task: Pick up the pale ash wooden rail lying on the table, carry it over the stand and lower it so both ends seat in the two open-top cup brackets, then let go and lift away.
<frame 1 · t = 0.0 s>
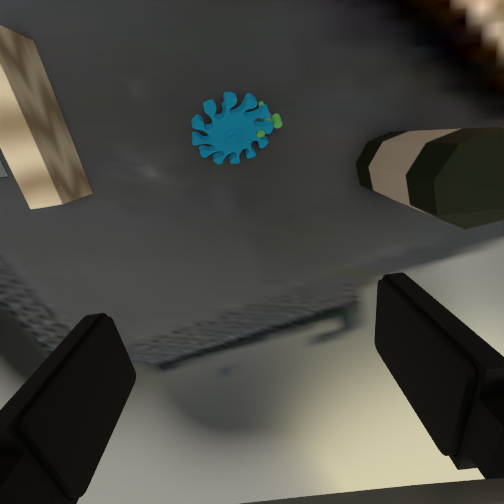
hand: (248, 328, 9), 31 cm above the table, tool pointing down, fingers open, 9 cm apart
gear: (237, 132, 35), on the table
rail: (52, 127, 35), on the table
wine bottle: (384, 164, 38), on the table
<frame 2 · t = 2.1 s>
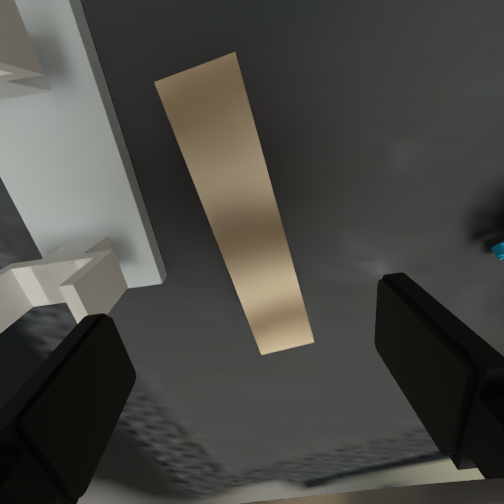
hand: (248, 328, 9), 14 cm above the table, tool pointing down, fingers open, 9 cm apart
rail: (250, 209, 22), on the table
cradle: (75, 171, 20), on the table
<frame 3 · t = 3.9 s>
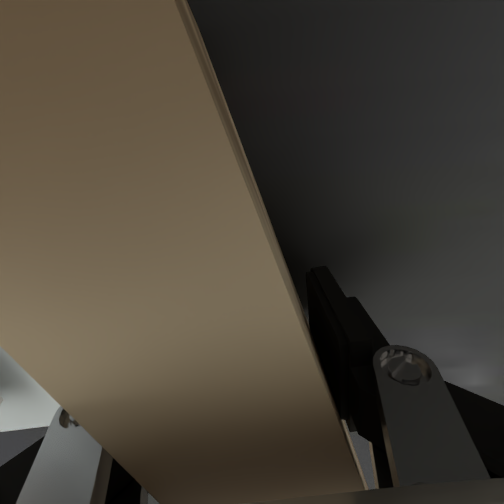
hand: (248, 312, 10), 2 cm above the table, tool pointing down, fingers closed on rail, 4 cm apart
rail: (247, 289, 12), on the table, touching gripper
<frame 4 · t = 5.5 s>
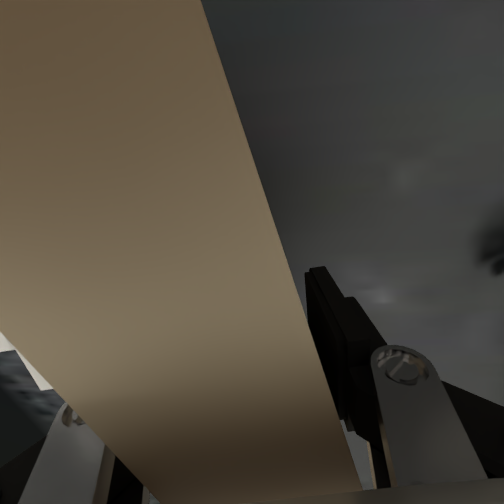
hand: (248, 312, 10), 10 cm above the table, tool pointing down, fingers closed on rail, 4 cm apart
rail: (246, 289, 12), point 9 cm above the table, touching gripper
cradle: (46, 196, 18), on the table
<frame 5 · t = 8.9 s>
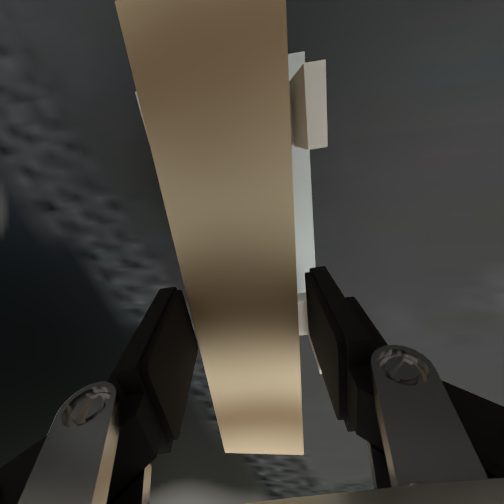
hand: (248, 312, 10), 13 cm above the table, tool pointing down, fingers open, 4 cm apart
rail: (255, 238, 16), point 6 cm above the table, tilted 5°, touching cradle
cradle: (253, 212, 22), on the table
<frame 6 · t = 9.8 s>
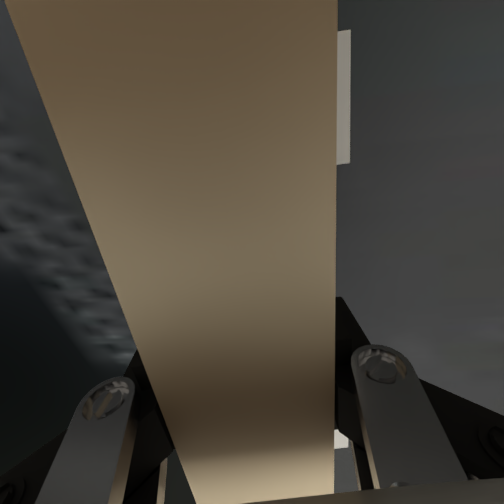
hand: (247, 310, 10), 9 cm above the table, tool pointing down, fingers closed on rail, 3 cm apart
rail: (247, 273, 13), point 6 cm above the table, touching cradle, gripper
cradle: (246, 234, 18), on the table
when the fingers open (9 cm above the table, at t = 10.0 s): rail stays where it is, resting on cradle.
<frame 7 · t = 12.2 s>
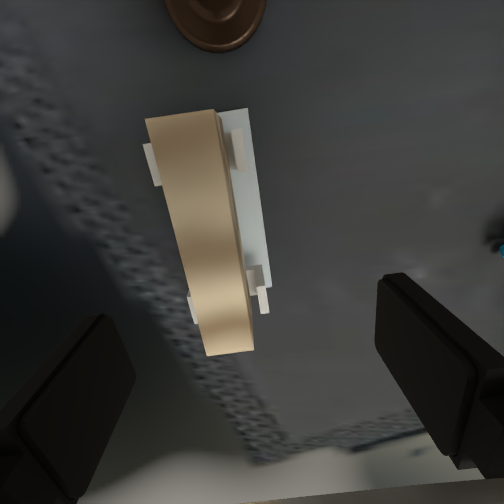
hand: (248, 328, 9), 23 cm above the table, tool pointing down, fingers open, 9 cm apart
rail: (217, 226, 25), point 6 cm above the table, touching cradle
cradle: (222, 212, 31), on the table
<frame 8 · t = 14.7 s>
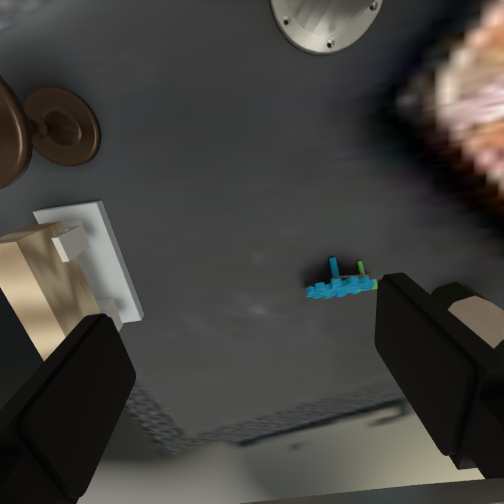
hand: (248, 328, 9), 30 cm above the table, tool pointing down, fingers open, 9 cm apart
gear: (333, 275, 44), on the table
rail: (74, 286, 36), point 6 cm above the table, touching cradle
cradle: (97, 266, 41), on the table
wine bottle: (446, 302, 46), on the table
candlestick: (65, 128, 34), on the table
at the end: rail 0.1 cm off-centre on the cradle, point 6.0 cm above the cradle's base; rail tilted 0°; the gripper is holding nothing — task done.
